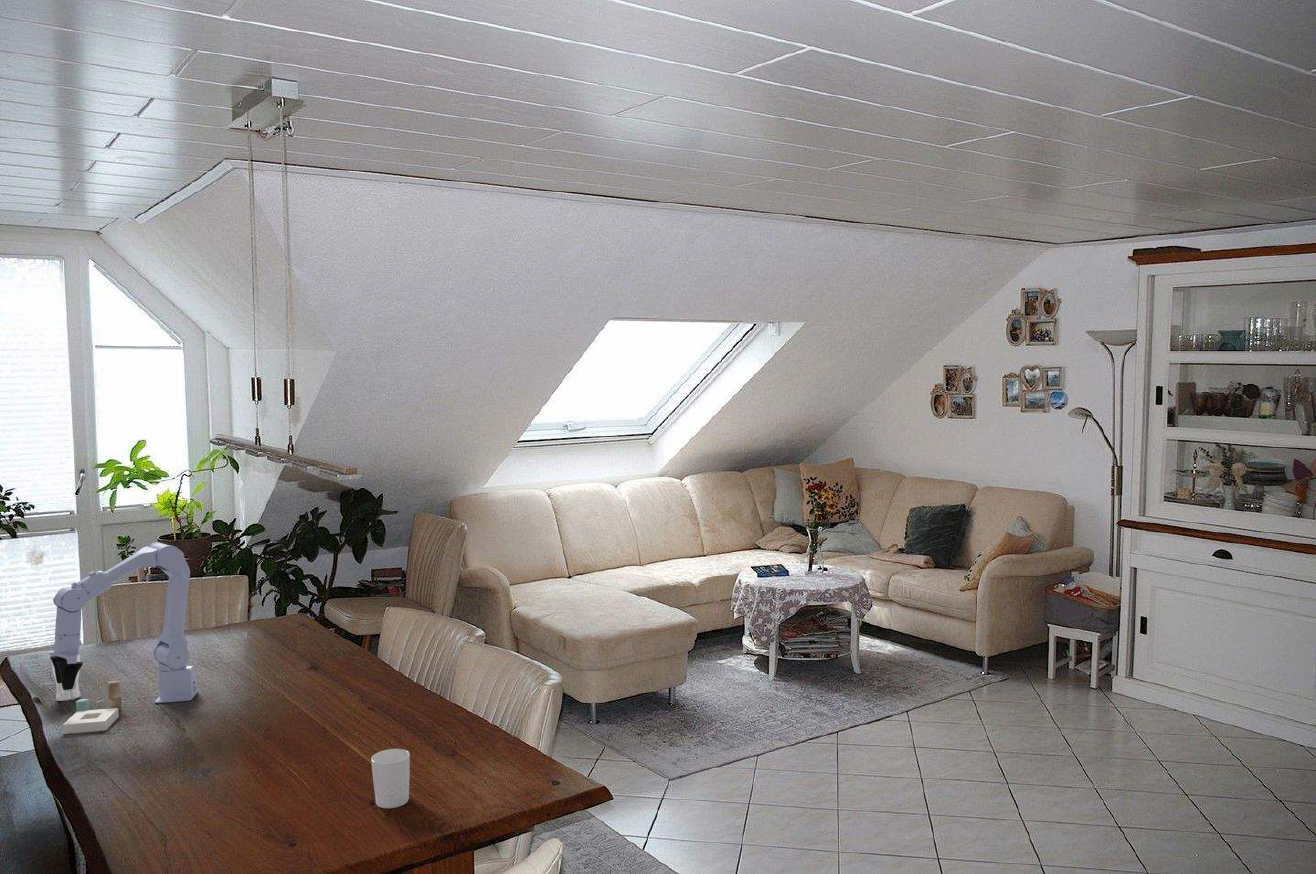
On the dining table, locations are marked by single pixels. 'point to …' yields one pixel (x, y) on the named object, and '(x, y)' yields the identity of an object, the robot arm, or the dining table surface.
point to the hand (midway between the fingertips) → (64, 686)
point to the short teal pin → (82, 705)
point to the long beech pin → (114, 695)
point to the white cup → (391, 777)
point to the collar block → (90, 721)
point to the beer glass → (70, 693)
